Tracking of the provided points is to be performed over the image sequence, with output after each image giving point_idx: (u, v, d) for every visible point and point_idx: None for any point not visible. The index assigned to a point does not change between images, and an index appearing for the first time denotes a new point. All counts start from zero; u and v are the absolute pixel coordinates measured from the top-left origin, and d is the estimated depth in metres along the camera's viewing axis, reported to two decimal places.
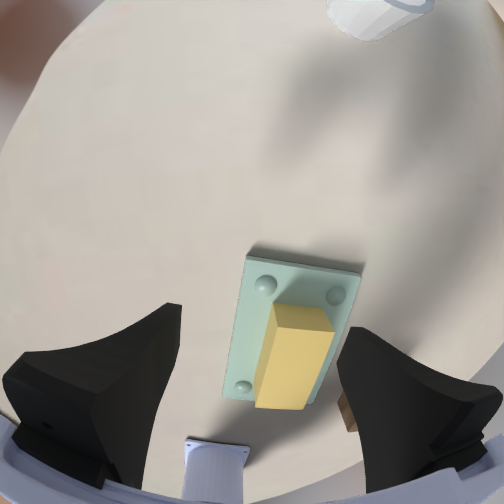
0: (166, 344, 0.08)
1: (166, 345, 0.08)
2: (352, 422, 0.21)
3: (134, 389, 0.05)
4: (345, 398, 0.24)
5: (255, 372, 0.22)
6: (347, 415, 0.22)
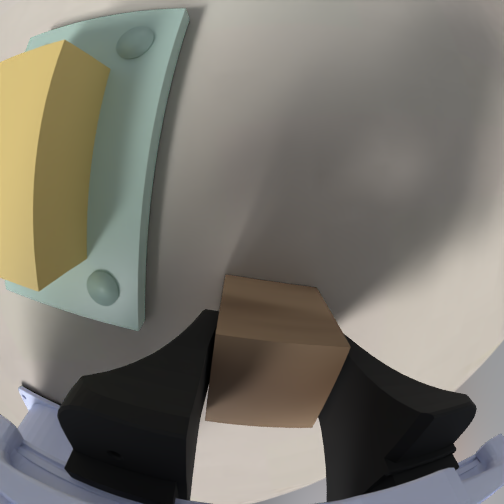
0: (211, 352, 0.09)
1: (211, 353, 0.09)
2: (208, 392, 0.08)
3: (198, 403, 0.05)
4: None
5: None
6: None
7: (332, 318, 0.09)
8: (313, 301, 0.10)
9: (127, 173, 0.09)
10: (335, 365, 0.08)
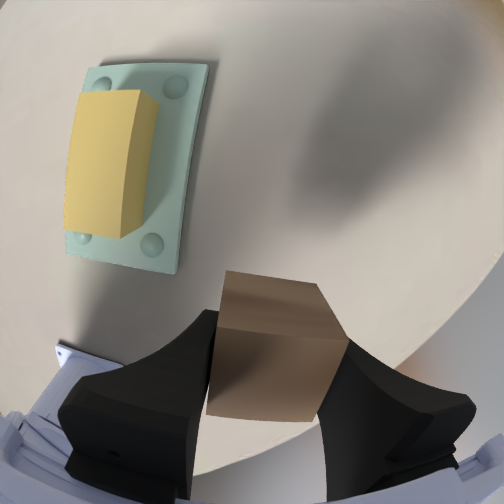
0: (211, 352, 0.09)
1: (211, 353, 0.09)
2: (209, 386, 0.08)
3: (197, 403, 0.05)
4: None
5: None
6: None
7: (331, 312, 0.09)
8: (312, 297, 0.10)
9: (173, 172, 0.16)
10: (334, 358, 0.08)
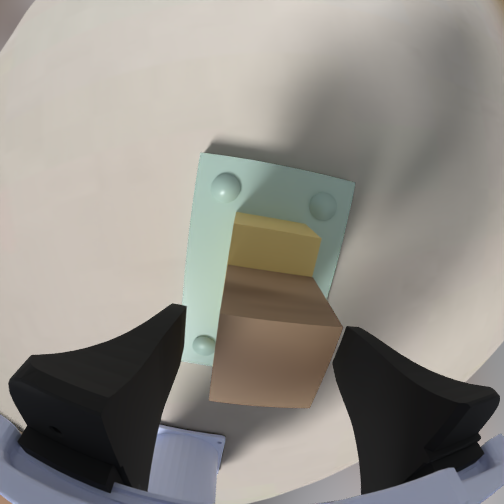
0: (172, 345, 0.08)
1: (172, 346, 0.08)
2: (212, 371, 0.09)
3: (142, 391, 0.05)
4: None
5: None
6: None
7: (326, 303, 0.10)
8: (309, 289, 0.11)
9: None
10: (329, 345, 0.09)
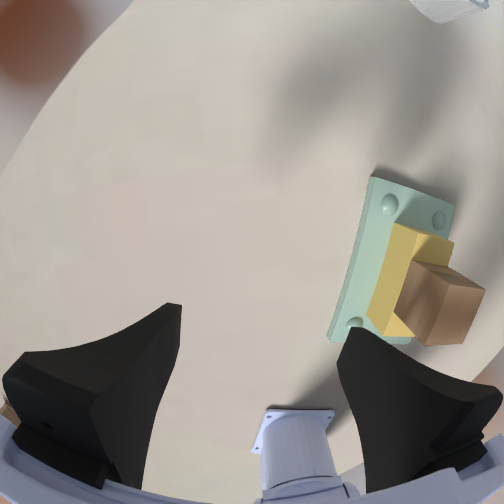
0: (166, 344, 0.08)
1: (166, 345, 0.08)
2: (432, 323, 0.13)
3: (134, 389, 0.05)
4: (408, 296, 0.16)
5: (369, 305, 0.21)
6: (418, 319, 0.14)
7: None
8: (455, 273, 0.15)
9: None
10: (479, 300, 0.13)
